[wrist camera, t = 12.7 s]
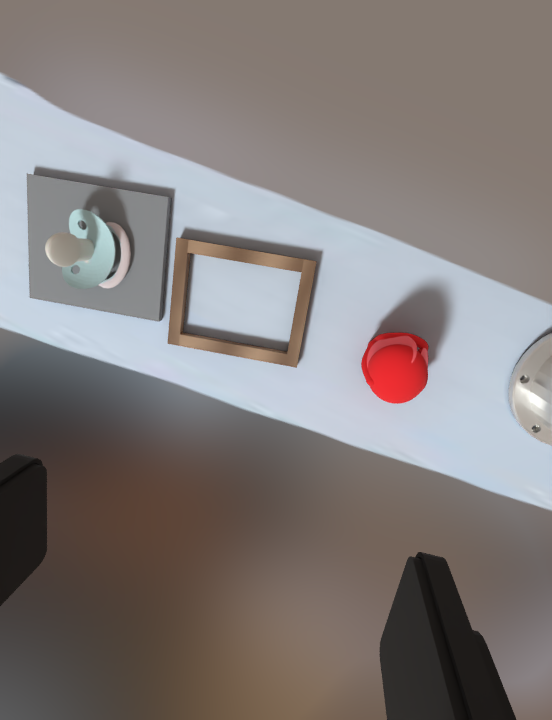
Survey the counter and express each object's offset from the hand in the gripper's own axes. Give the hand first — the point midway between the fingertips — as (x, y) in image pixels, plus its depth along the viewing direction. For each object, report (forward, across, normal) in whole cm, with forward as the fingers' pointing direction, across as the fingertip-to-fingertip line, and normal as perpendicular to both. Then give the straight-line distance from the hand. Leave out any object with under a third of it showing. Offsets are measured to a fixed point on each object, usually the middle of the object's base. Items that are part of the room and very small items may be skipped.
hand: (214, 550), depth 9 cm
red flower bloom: (+31, -9, +2) cm, 33 cm away
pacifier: (+29, +21, -4) cm, 36 cm away
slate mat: (+30, +22, -4) cm, 37 cm away
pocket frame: (+30, +7, -1) cm, 31 cm away
